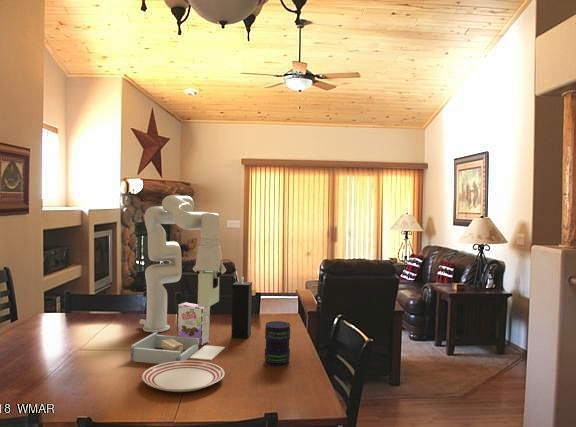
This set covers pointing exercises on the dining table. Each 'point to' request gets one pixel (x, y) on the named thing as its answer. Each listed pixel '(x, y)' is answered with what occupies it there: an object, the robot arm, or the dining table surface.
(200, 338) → the candy box
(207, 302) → the pale green block
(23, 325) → the dining table surface
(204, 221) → the robot arm
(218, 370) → the dinner plate
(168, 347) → the offcut upper
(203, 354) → the felt mat
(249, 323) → the tissue box
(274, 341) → the storage jar
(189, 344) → the grey square tray frame
